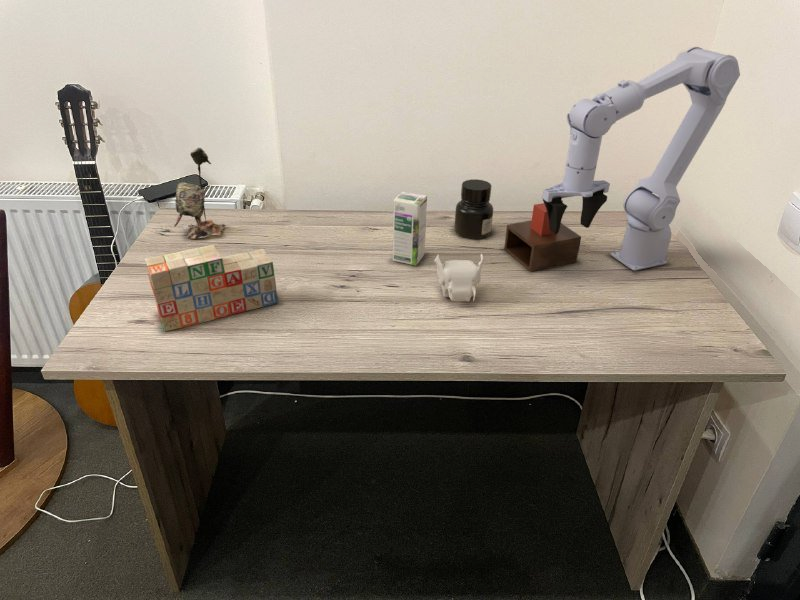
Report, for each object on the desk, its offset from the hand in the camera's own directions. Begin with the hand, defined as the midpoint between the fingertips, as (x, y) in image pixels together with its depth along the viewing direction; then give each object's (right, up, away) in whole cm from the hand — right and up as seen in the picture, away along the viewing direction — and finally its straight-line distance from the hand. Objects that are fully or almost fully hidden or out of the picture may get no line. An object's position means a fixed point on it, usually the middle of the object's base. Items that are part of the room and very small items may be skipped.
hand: (569, 228), depth 123 cm
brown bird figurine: (-82, +1, +19) cm, 84 cm away
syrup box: (-33, -6, +10) cm, 35 cm away
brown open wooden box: (-3, -5, +12) cm, 13 cm away
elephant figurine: (-23, -14, -3) cm, 27 cm away
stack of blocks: (-69, -17, -9) cm, 72 cm away
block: (-3, +1, +8) cm, 9 cm away
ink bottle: (-17, +2, +22) cm, 28 cm away
